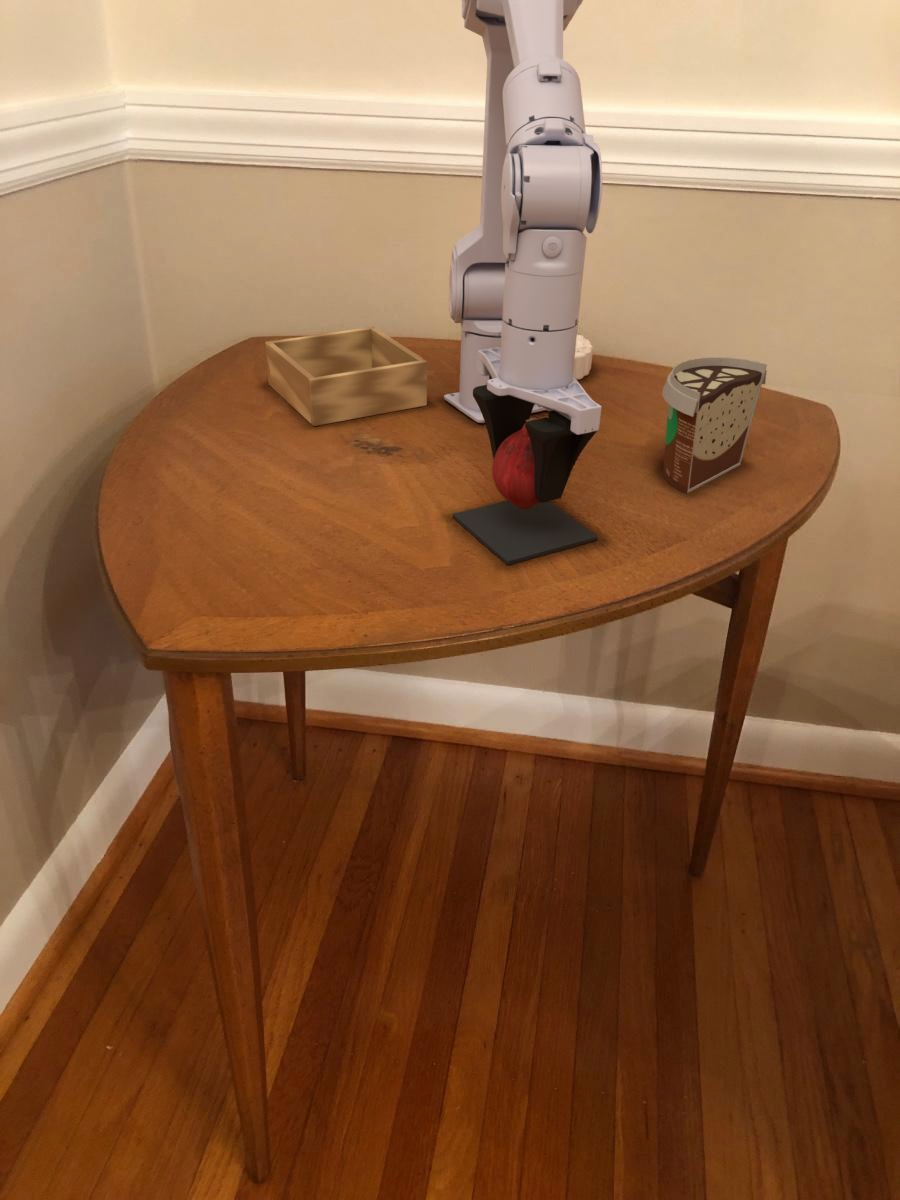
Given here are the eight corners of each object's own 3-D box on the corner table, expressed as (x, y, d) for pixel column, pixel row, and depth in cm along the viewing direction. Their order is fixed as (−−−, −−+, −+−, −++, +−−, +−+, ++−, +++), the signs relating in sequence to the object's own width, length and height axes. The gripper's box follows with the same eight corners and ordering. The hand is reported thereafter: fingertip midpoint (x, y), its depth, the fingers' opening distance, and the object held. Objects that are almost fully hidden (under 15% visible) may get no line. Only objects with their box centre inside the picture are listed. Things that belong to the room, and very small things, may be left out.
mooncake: (609, 367, 115) (613, 338, 113) (551, 393, 108) (554, 362, 106) (531, 345, 122) (533, 317, 120) (471, 367, 114) (473, 338, 112)
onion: (554, 529, 77) (563, 438, 72) (484, 520, 78) (489, 430, 73) (561, 497, 82) (570, 410, 77) (496, 489, 82) (501, 403, 78)
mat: (538, 496, 86) (538, 492, 86) (597, 540, 79) (598, 536, 79) (452, 517, 82) (452, 513, 82) (507, 565, 76) (507, 561, 75)
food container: (695, 441, 97) (713, 346, 92) (748, 460, 94) (769, 362, 88) (623, 476, 90) (638, 375, 84) (678, 498, 86) (696, 394, 81)
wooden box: (374, 367, 113) (373, 326, 111) (427, 405, 104) (427, 361, 101) (268, 384, 108) (264, 341, 105) (313, 426, 98) (310, 380, 95)
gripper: (447, 301, 74) (443, 458, 82) (550, 356, 64) (535, 531, 71) (521, 291, 77) (511, 443, 85) (632, 342, 67) (609, 511, 74)
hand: (527, 482), depth 78 cm, fingers closed on onion, 6 cm apart
